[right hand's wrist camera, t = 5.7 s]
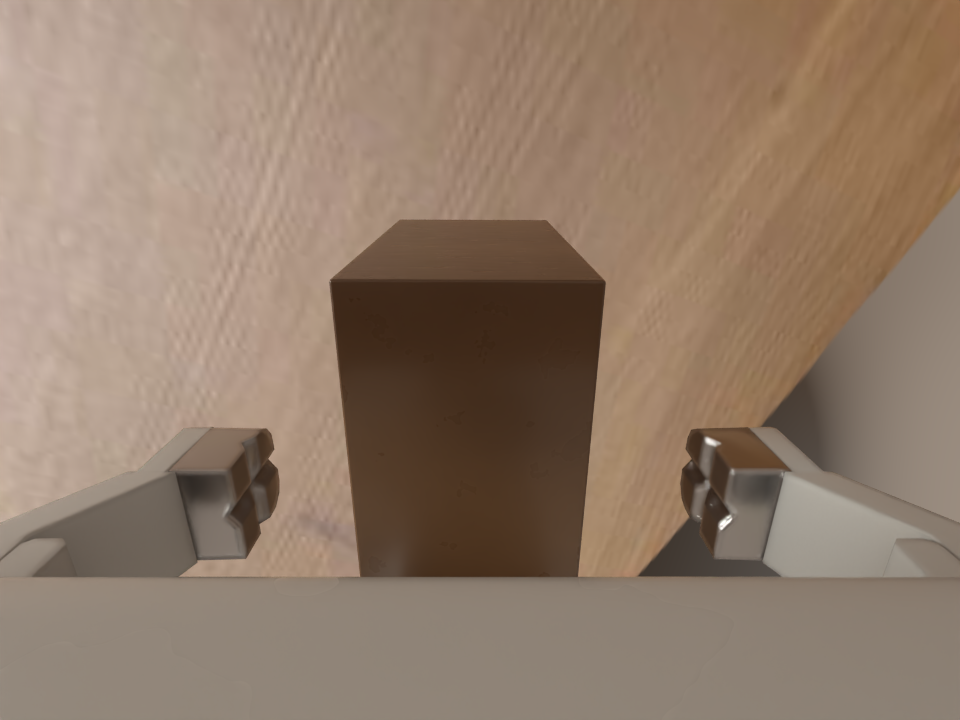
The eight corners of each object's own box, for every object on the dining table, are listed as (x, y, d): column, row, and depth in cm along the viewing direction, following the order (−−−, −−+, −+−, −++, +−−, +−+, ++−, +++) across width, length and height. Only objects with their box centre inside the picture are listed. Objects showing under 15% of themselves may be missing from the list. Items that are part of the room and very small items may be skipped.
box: (399, 219, 20) (328, 279, 11) (547, 220, 20) (607, 280, 11) (419, 624, 28) (389, 865, 19) (526, 624, 28) (550, 865, 19)
